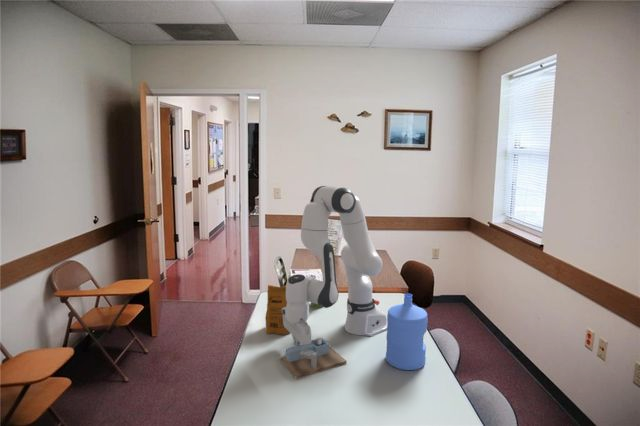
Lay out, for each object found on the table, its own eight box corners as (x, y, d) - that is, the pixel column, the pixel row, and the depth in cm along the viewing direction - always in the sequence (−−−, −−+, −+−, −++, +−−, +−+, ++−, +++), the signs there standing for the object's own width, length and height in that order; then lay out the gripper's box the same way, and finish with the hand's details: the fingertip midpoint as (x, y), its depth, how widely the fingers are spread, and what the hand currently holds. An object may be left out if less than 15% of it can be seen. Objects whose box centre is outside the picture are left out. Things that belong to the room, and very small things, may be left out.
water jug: (402, 375, 163) (405, 305, 158) (378, 356, 177) (380, 291, 172) (433, 365, 170) (437, 298, 165) (408, 347, 184) (411, 285, 179)
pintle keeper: (315, 349, 180) (315, 336, 179) (329, 352, 177) (329, 339, 176) (298, 367, 166) (298, 353, 165) (314, 371, 163) (314, 357, 162)
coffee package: (267, 325, 205) (266, 281, 201) (293, 326, 204) (293, 281, 200) (263, 335, 195) (262, 288, 191) (291, 335, 194) (290, 289, 190)
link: (321, 346, 182) (321, 337, 182) (329, 353, 177) (329, 344, 176) (284, 356, 174) (284, 347, 173) (290, 363, 169) (290, 354, 168)
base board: (327, 347, 184) (327, 344, 184) (346, 363, 171) (346, 360, 171) (280, 360, 174) (280, 357, 174) (296, 378, 161) (296, 375, 161)
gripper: (315, 322, 169) (315, 355, 171) (293, 304, 187) (293, 334, 189) (301, 326, 166) (301, 359, 169) (279, 307, 184) (280, 337, 186)
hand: (297, 345), depth 179 cm, fingers closed
